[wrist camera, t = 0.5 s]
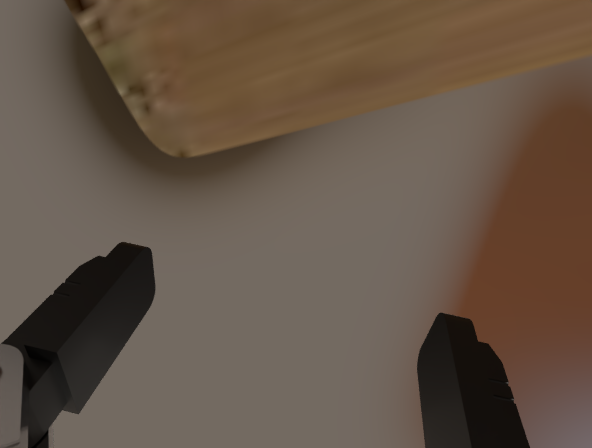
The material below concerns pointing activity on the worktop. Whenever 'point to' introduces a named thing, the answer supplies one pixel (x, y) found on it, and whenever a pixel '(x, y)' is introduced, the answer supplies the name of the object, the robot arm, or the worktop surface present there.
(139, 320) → the robot arm
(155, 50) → the worktop surface
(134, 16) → the worktop surface
